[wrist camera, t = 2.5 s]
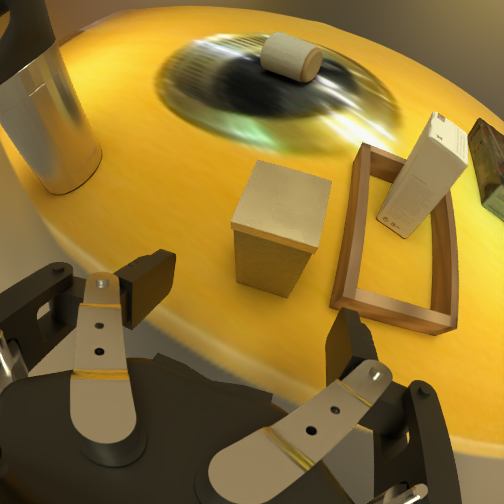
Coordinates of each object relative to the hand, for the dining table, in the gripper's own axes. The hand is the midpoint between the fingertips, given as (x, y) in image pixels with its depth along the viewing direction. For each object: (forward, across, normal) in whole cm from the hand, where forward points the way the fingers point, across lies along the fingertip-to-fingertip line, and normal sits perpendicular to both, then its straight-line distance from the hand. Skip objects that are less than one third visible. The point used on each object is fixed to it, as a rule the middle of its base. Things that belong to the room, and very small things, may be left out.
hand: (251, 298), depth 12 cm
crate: (+16, -12, -2) cm, 20 cm away
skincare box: (+20, -12, -5) cm, 23 cm away
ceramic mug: (+37, +6, -22) cm, 43 cm away
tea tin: (+12, 0, +3) cm, 12 cm away
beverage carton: (+32, -33, -16) cm, 49 cm away
